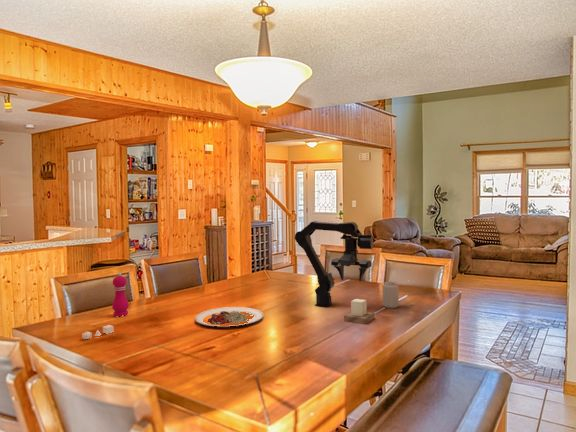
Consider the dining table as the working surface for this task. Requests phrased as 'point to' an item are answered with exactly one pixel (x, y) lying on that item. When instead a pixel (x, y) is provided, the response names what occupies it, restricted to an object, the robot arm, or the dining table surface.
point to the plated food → (228, 316)
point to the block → (358, 307)
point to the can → (390, 295)
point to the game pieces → (106, 330)
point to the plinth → (359, 318)
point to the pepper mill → (120, 296)
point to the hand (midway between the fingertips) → (351, 280)
